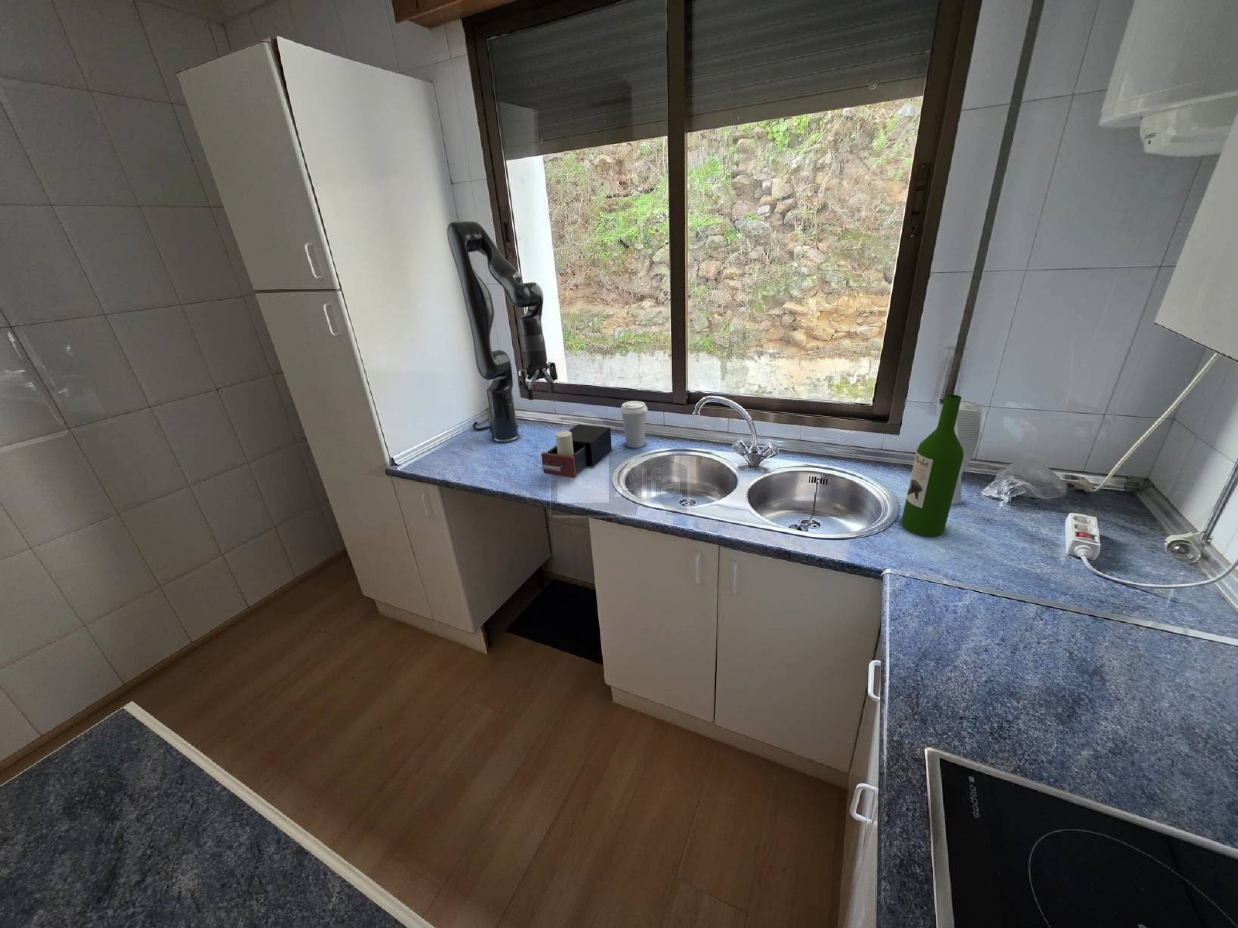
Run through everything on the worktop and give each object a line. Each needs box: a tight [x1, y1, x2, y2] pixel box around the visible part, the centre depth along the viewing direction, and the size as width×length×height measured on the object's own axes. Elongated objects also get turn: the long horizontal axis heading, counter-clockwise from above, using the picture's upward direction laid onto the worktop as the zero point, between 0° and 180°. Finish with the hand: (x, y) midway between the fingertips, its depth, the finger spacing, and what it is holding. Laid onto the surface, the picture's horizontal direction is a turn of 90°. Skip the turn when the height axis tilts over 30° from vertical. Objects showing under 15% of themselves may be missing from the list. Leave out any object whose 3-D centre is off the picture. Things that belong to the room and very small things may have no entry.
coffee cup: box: [619, 400, 648, 449], centre depth 172 cm, size 10×10×15 cm
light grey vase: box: [951, 398, 982, 506], centre depth 122 cm, size 8×8×28 cm
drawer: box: [540, 443, 590, 479], centre depth 154 cm, size 18×11×7 cm, turn 155°
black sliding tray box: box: [568, 423, 613, 468], centre depth 165 cm, size 15×13×9 cm
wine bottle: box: [900, 394, 963, 538], centre depth 110 cm, size 9×9×32 cm
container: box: [555, 430, 574, 456], centre depth 154 cm, size 5×5×11 cm
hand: (540, 396), depth 164 cm, fingers open, 8 cm apart
